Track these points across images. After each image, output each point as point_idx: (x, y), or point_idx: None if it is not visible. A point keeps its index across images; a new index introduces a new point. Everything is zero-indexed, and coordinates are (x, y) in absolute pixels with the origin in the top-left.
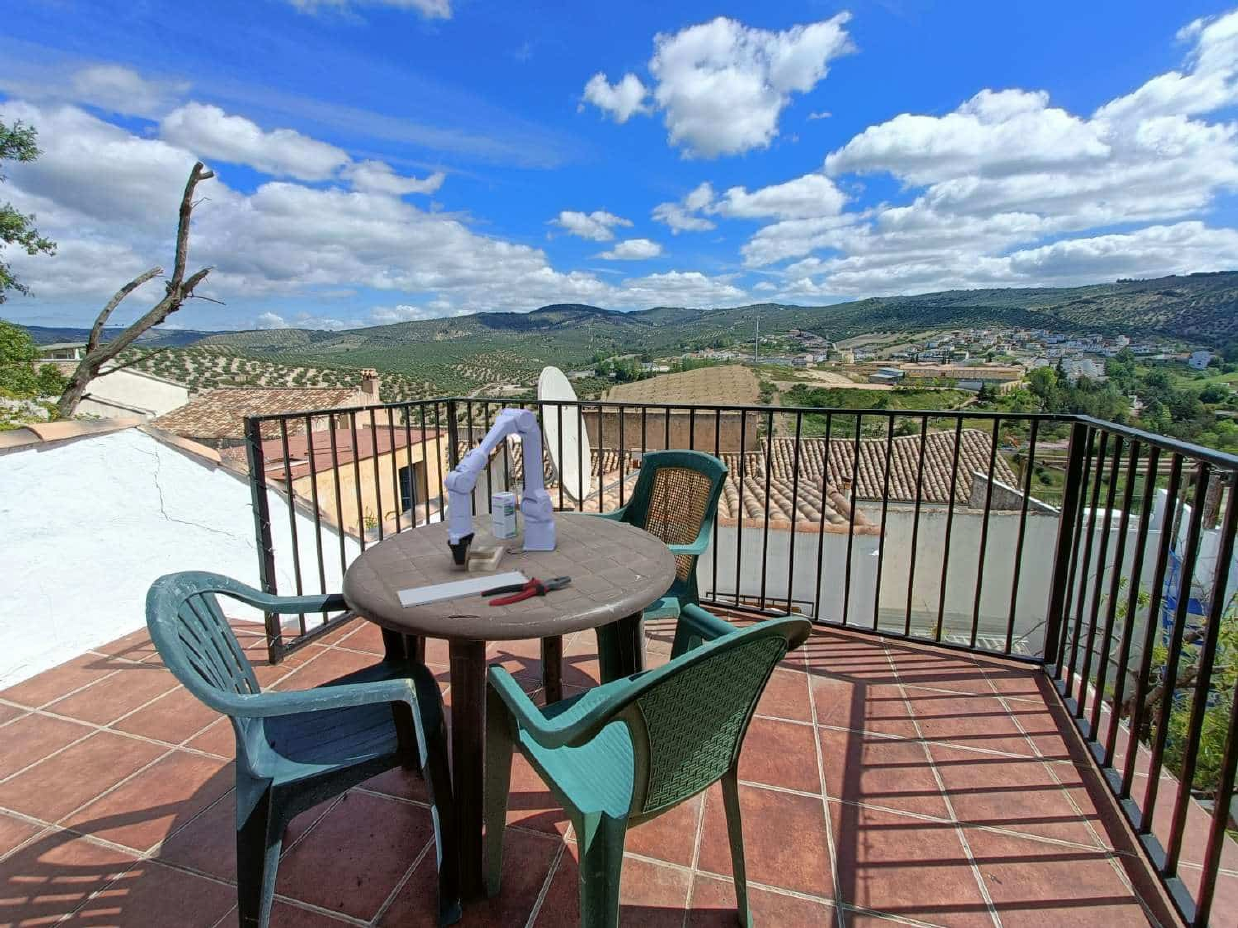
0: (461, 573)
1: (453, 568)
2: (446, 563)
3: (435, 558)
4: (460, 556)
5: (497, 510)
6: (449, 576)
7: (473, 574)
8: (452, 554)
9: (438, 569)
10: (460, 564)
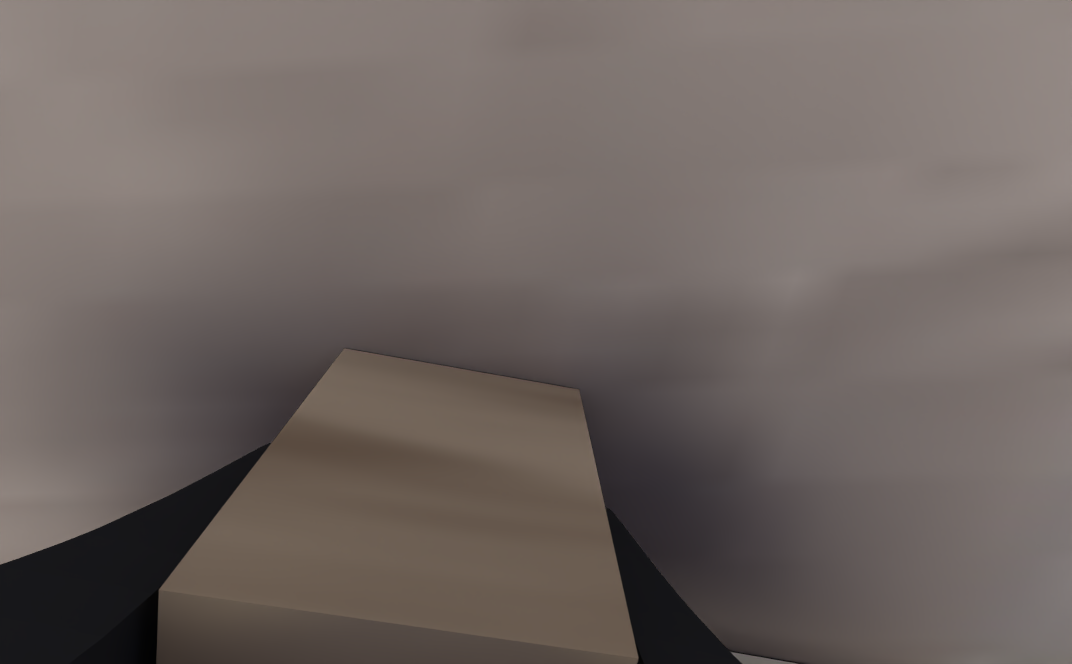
0: (149, 475)
1: (340, 364)
2: (696, 232)
3: (1069, 7)
4: None
5: None
6: (14, 308)
7: None
8: (238, 488)
9: (394, 104)
10: None
